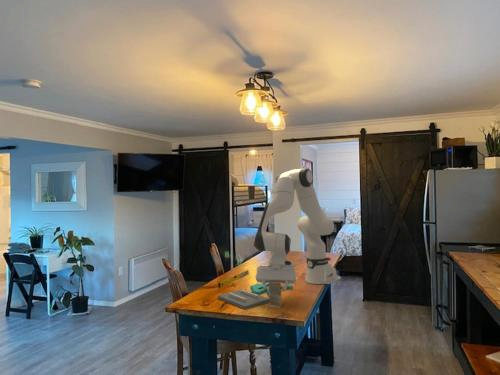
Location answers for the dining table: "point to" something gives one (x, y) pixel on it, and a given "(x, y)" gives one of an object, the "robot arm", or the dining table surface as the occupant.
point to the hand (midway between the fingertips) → (274, 290)
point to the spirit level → (233, 278)
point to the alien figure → (259, 289)
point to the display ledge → (243, 299)
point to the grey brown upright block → (275, 294)
